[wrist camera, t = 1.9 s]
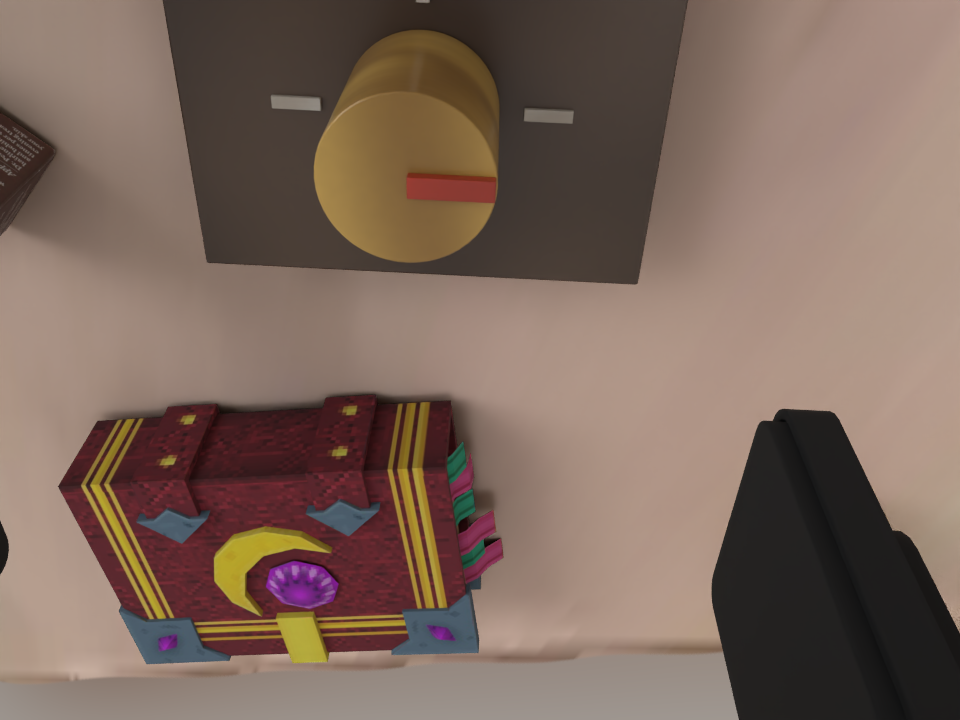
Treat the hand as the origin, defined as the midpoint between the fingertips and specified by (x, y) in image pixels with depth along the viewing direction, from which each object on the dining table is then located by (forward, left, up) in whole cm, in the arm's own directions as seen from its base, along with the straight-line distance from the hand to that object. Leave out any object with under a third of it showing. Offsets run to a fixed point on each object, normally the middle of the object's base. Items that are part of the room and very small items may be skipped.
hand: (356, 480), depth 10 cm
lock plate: (-1, -1, -20) cm, 20 cm away
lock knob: (-1, -1, -17) cm, 17 cm away
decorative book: (-6, -20, -20) cm, 29 cm away
